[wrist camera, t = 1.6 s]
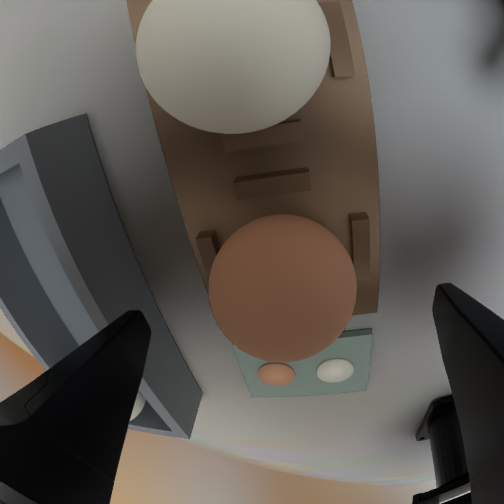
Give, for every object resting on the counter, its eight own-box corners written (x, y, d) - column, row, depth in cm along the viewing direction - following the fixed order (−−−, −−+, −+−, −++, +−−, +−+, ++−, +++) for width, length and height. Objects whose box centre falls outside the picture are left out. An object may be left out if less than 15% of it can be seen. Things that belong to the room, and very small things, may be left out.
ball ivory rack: (333, 110, 9) (363, 134, 5) (193, 133, 10) (127, 175, 6) (304, -21, 6) (310, -88, 3) (164, 11, 7) (82, -18, 4)
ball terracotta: (348, 292, 12) (362, 385, 8) (239, 302, 13) (217, 391, 9) (342, 185, 10) (370, 258, 6) (211, 202, 11) (165, 278, 7)
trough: (202, 393, 19) (189, 439, 16) (108, 383, 21) (90, 419, 18) (85, 113, 10) (25, 133, 7) (-10, 166, 12) (-55, 192, 9)
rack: (373, 297, 13) (379, 321, 12) (223, 310, 15) (216, 334, 13) (332, -43, 6) (337, -60, 5) (138, 0, 8) (116, -7, 6)
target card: (365, 384, 17) (366, 392, 16) (252, 391, 18) (251, 399, 18) (371, 328, 14) (373, 337, 14) (233, 338, 16) (231, 347, 15)
